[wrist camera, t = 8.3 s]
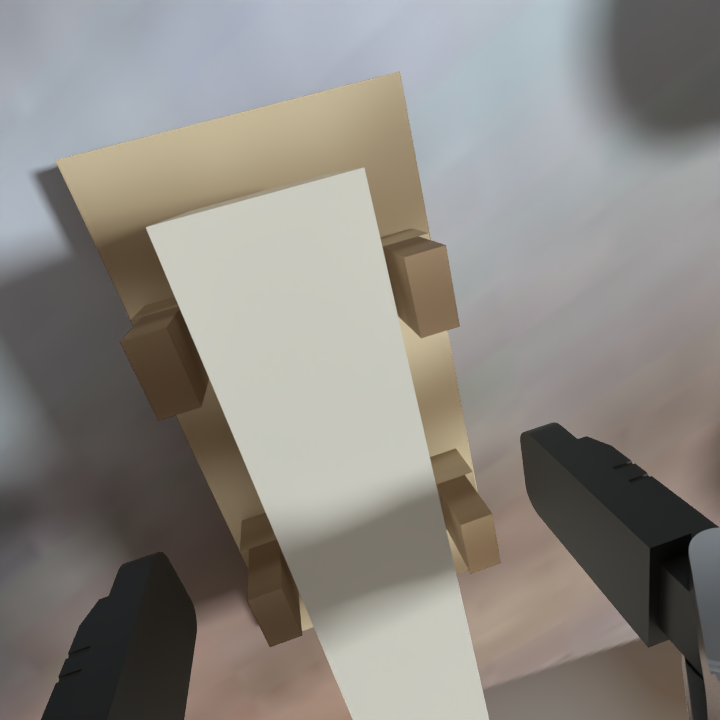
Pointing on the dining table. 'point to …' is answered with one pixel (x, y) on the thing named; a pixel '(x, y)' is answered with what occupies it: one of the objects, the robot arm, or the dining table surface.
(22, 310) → the dining table surface
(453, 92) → the dining table surface
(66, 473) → the dining table surface
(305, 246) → the white rectangular block
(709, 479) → the dining table surface
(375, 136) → the rack
